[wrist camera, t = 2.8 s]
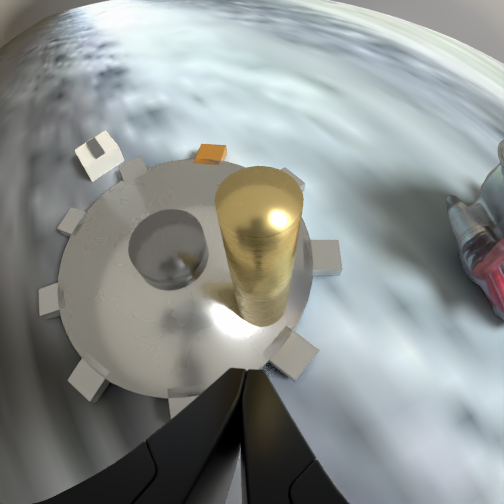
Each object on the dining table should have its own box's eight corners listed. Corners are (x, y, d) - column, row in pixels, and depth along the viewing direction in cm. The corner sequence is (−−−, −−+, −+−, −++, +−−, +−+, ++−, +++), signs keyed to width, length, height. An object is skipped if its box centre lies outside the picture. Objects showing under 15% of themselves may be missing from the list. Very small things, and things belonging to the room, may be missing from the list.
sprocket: (269, 481, 12) (274, 552, 4) (6, 336, 15) (-90, 275, 8) (359, 186, 20) (392, 72, 12) (134, 136, 24) (102, 45, 16)
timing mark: (124, 160, 23) (117, 143, 21) (92, 182, 22) (82, 165, 20) (111, 144, 24) (104, 127, 22) (81, 163, 23) (72, 147, 21)
